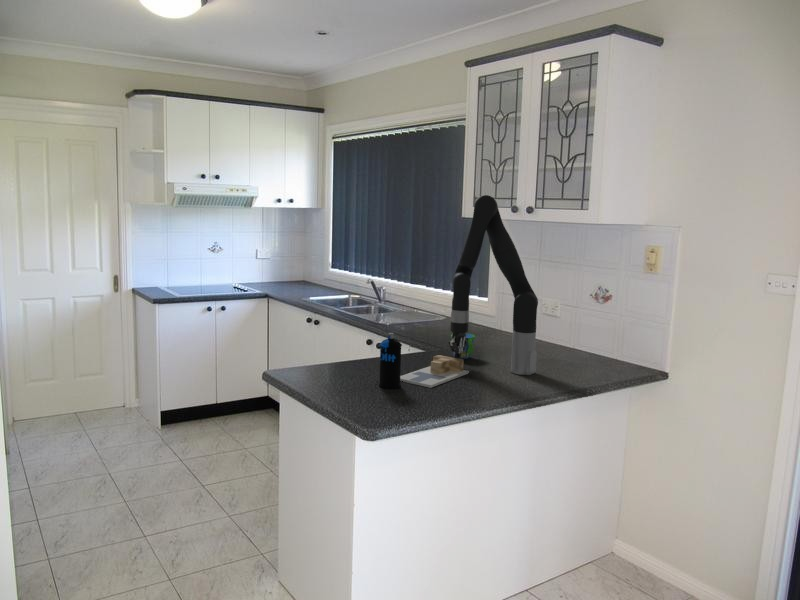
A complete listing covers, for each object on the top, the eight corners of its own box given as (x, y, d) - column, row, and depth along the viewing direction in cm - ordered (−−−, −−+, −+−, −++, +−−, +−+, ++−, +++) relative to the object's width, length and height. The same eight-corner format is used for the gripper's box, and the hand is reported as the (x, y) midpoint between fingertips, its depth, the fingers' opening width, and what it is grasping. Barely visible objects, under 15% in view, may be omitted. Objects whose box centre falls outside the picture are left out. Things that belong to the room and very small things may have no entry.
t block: (438, 365, 274) (438, 354, 274) (463, 370, 268) (463, 359, 267) (422, 371, 265) (422, 360, 264) (447, 376, 258) (448, 365, 257)
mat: (468, 373, 267) (468, 370, 267) (430, 387, 245) (430, 385, 245) (435, 366, 277) (435, 364, 276) (395, 380, 254) (395, 377, 254)
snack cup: (480, 361, 289) (481, 338, 287) (457, 362, 285) (458, 339, 284) (466, 353, 303) (467, 331, 302) (444, 354, 300) (445, 332, 299)
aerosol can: (388, 381, 252) (389, 330, 249) (405, 385, 246) (406, 333, 244) (374, 385, 245) (375, 333, 242) (391, 390, 240) (392, 336, 237)
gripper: (459, 323, 266) (457, 365, 268) (475, 319, 276) (473, 360, 279) (443, 321, 270) (441, 362, 273) (460, 317, 281) (458, 357, 283)
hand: (457, 361), depth 276 cm, fingers closed
